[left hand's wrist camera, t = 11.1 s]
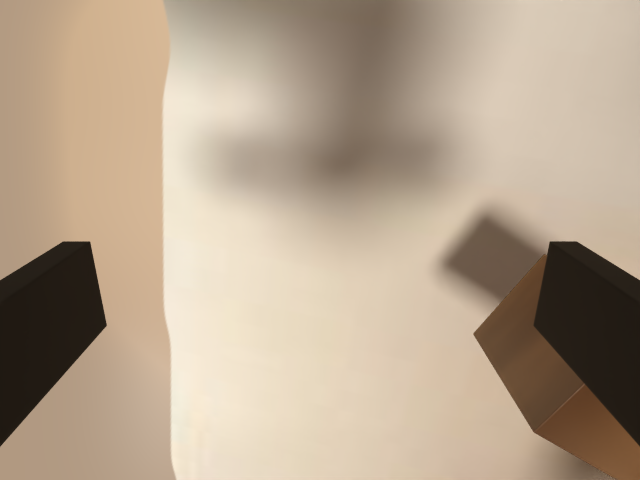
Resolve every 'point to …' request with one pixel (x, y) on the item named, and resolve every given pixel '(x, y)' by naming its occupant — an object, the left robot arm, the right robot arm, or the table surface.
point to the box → (553, 385)
